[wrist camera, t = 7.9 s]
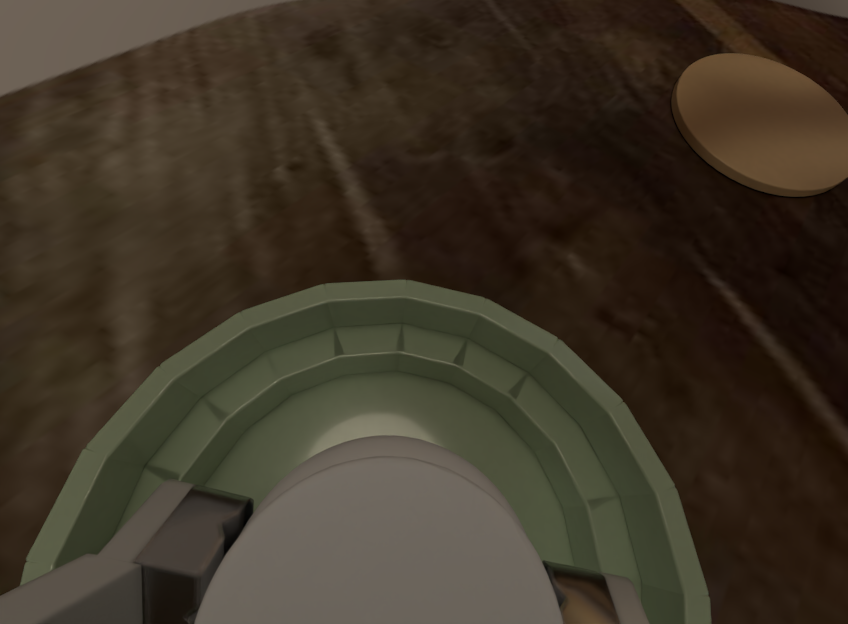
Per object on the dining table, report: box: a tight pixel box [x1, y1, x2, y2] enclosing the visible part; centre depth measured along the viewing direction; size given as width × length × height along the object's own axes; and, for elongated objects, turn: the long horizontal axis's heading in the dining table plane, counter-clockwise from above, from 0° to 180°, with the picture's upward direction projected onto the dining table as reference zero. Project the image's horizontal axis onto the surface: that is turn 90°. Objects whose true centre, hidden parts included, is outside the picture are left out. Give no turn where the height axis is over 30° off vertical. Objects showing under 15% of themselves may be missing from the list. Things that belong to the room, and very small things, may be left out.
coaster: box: [671, 53, 848, 197], centre depth 22 cm, size 9×9×1 cm
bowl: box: [20, 280, 711, 624], centre depth 11 cm, size 14×14×4 cm
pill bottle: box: [194, 435, 563, 624], centre depth 9 cm, size 5×5×9 cm
